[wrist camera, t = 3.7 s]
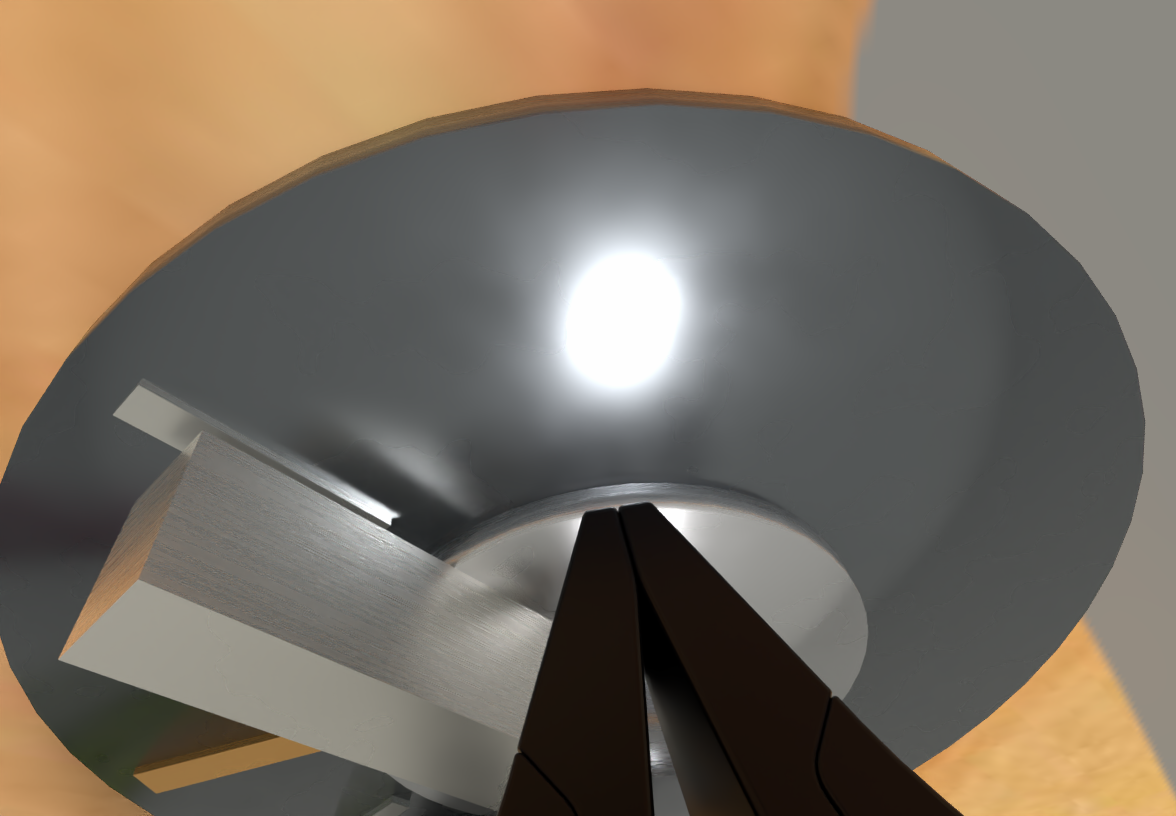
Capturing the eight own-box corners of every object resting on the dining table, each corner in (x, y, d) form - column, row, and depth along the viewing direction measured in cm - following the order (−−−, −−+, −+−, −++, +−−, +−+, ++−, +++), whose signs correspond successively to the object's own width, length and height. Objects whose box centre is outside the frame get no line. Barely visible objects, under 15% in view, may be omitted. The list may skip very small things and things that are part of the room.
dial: (937, 634, 19) (1025, 779, 16) (597, 830, 23) (618, 976, 20) (415, 184, 11) (399, 318, 8) (11, 619, 15) (-104, 820, 12)
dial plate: (1232, 564, 22) (1268, 597, 21) (581, 912, 30) (586, 947, 29) (686, -421, 8) (716, -457, 7) (-205, 698, 17) (-245, 748, 16)
